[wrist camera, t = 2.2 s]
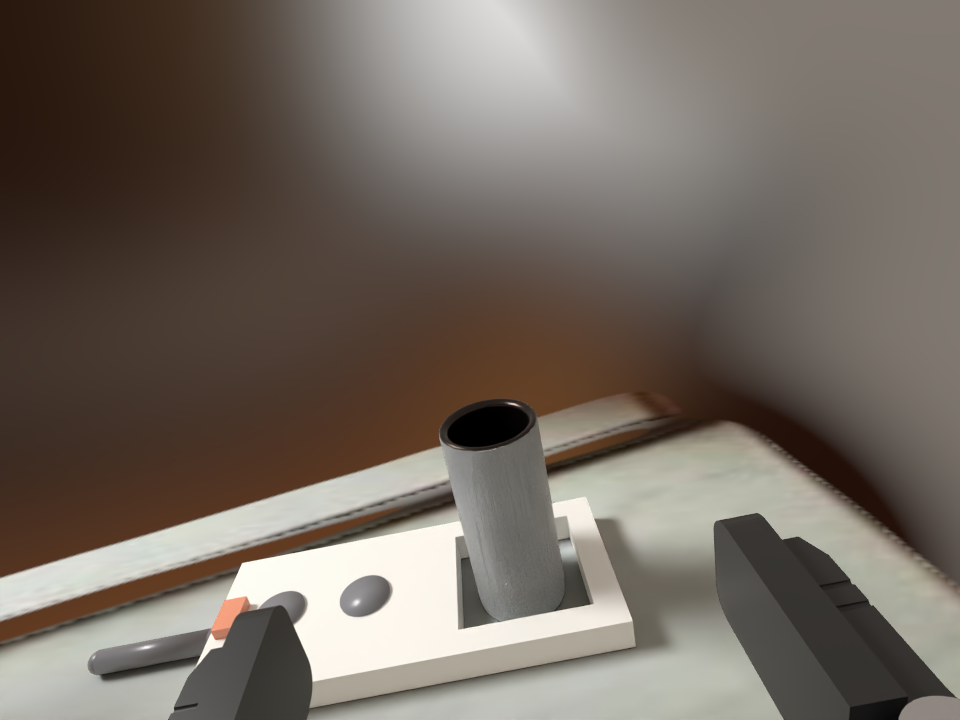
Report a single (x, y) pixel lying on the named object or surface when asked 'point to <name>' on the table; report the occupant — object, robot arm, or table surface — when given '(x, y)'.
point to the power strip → (403, 613)
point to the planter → (505, 506)
